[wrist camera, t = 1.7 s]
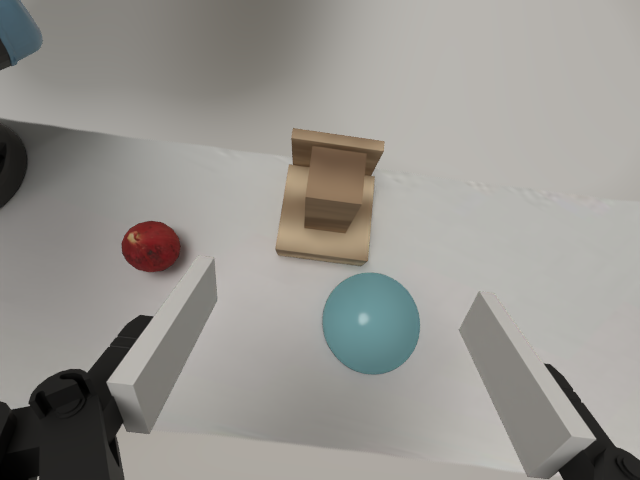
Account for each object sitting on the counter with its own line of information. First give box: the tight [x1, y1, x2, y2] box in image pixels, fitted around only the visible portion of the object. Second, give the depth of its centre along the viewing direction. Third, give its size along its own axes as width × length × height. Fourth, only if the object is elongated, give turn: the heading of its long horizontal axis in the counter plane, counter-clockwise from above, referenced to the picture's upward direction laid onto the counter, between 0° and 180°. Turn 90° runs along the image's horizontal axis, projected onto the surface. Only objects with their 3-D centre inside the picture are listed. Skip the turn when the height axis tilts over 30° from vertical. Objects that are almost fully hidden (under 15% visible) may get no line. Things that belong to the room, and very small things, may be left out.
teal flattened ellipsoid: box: [322, 273, 420, 374], centre depth 37 cm, size 12×12×1 cm
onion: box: [122, 221, 180, 272], centre depth 34 cm, size 6×6×8 cm
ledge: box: [276, 128, 384, 266], centre depth 35 cm, size 12×11×10 cm
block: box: [304, 146, 367, 233], centre depth 31 cm, size 5×5×10 cm
